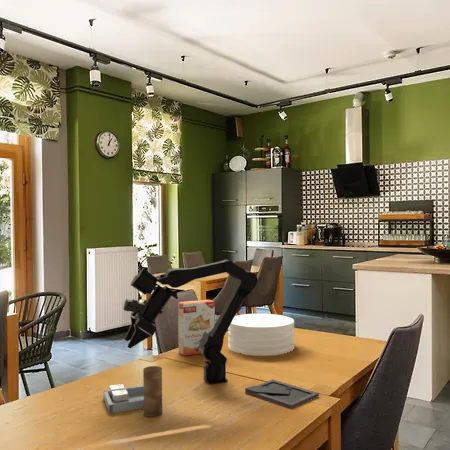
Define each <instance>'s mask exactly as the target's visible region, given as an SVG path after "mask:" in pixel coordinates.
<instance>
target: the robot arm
mask: <svg viewBox="0 0 450 450" xmlns="http://www.w3.org/2000/svg"><path fill="white" fill-rule="evenodd" d="M224 273H225V274H228V275H229V276H230V277H232V278H233V279H234V282H233V284H232V285H233V286H232V291H231V292H232V293H231V294H230V296H229V298H228V299H227V302H226V304H225V305H224V308H223V309H222V311H221V313H220V315H219V316H218V318H217V320H216V322H215V326H214V328H213V329H212V330H211V331H210V332H209V333H207V332H204V334H203V337H202V338H201V340H200V341H199V343H200V344H199V350H200V352H201V353H200V354H201V355H202V356H203V357H204V359H206V360H207V361H204V366H203V379H204V380H205V381H206V382H207V384H209V385H212V384H213V385H214V384H219V383H220V384H221V383H227V382H228V381H229V380H228V379H227V376H226V371H227V370H226V365H227V364H226V363H227V361H228V358H227V357H226V356H225V355H224V354H223V353H222V352H221V351H222V348H223V346H224V338H225V335H226V334H227V333H228V331H229V330H228V328H229V326H230V324H231V322H232V320H233V319H234V317H235V316H237V315H236V314H237V313H238V311H239V309H240V307H241V305H242V303H243V302H244V300H245V298H247V297H248V296H249V295H250V294H251V293H252V292H253V291H254V289H255V288H256V287H257V285H258V283H259V280H258V279H259V278H258V276H257V275H256V273H254V272H252V271H249V270H245V269H244V268H242V267H240V266H239V265H238V264H235V262H233V261H232V260H229V259H224V260H220V261H217V262H212V263H208V264H203V265H199V266H198V265H197V266H194V267H178V268H177V267H173V268H169V269H167V270H165V272H164V273H163V274H160V275H156V276H155V275H153V274H152V273H150V272H149V271H148V270H147V269H146V268H144V267H143V268H142V269H141V270H140V271H139V272H138V273H137V274H136V275H135V276H134V277H133V279H132V280H131V282H130V287H133V288H135V290H137V291H138V292H140V293H142V294H143V295H144V296H145V295H150V296H149V297H148V298H147V299H144V300H143V302H141V301H139V300H137V299H136V300H135V299H134V298H133V299H128V298H126V299H125V301H124V304H123V308H122V309H123V311H125V312H131V313H130V317H129V318H130V322H131V323H130V326H129V328H128V331H127V333H126V336H125V338H124V340H125V341H126V342H128V344H127V348H129V349H131V348H133V347H135V346H137V345H138V344H139V343H141V342H143V341H145V340H147V339H148V338H150V337H152V336H154V334H156V332H157V327H156V325H155V324H156V319H157V318H158V317H159V315H161V314H162V313H163V312H164V311H163V310H164V308H165V306H166V305H167V304H168V302H169V301H170V299H171V298H172V297H173V298H174V299H176V300H178V299H179V297H178V290H177V289H178V288H180V287H182V286H184V285H187V284H189V283H191V282H192V281H195V280H199V279H204V278H207V277H211V276H216V275H219V274H220V275H221V274H224ZM158 283H159V284H158ZM160 284H161V285H160ZM162 285H164V286H163V287H162ZM169 286H170V287H171V288H173V289H171V288H170V287H169ZM175 288H177V289H175Z"/></svg>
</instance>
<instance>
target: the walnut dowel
mask: <svg viewBox="0 0 450 450" xmlns="http://www.w3.org/2000/svg"><path fill="white" fill-rule="evenodd" d="M142 373H143V375H142V376H143V385H144V408H143V416H144V417H146V418H158V417H160V416H162V415H163V367H161V366H159V365H151V366H146V367H144V368H143V370H142ZM143 385H142V386H143Z"/></svg>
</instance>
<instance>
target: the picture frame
mask: <svg viewBox="0 0 450 450" xmlns="http://www.w3.org/2000/svg"><path fill="white" fill-rule="evenodd" d="M244 389H245V390H244V393H245V394H246V395H251V396H252V397H256V398H258V399H262V400H265V401H267V402H268V401H269V402H270V403H273V404H276V405H279V406H282V407H285V408H287V409H291V410H292V409H295V408H297V407H299V406H301V405H304V404H305V403H308V402H309V401H312V400H315V399H316V397H317V398H319V397H318V396H320V395H319V394H320V393H319V392H317V391H313V390H311V389H310V390H309V389H306V388H303V387H299V386H296V385H292V384H289V383H286V382H282V381H280V380H275V379H270V380H268V381H265V382H262V383H259V384H257V385H252V386H249V387H245V388H244ZM311 399H312V400H311Z"/></svg>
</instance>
